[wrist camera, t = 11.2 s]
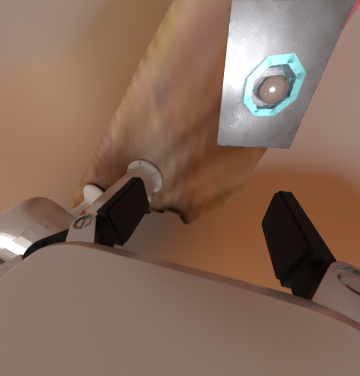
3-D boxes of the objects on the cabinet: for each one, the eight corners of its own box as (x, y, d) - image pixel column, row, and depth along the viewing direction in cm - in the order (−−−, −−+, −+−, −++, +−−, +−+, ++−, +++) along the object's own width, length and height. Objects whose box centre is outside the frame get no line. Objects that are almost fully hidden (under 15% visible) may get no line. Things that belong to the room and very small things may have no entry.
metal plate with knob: (287, 146, 27) (300, 162, 22) (217, 143, 31) (213, 156, 26) (363, -27, 15) (432, -85, 10) (232, 4, 19) (231, -26, 14)
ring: (282, 111, 23) (289, 115, 20) (239, 112, 25) (240, 116, 22) (302, 55, 19) (315, 50, 16) (248, 61, 21) (251, 58, 18)
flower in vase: (110, 190, 56) (48, 244, 37) (110, 205, 63) (58, 257, 45) (82, 176, 56) (6, 223, 37) (85, 193, 63) (24, 239, 45)
